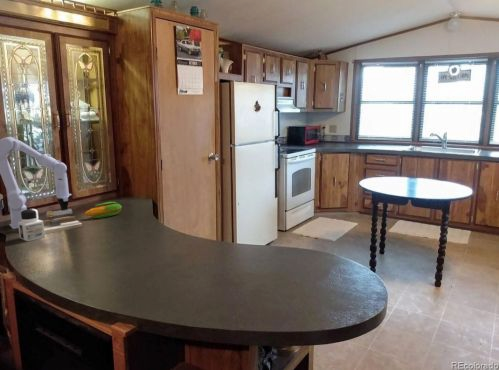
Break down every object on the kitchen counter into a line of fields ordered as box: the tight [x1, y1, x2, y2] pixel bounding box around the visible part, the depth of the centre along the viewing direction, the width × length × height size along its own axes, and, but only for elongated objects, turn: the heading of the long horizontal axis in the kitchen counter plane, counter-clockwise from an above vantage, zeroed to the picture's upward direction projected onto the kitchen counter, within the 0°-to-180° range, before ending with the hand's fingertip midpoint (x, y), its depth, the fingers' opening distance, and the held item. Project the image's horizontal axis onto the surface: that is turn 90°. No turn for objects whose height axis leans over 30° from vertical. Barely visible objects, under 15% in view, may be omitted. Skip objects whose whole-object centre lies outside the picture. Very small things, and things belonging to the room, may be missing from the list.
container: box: [18, 208, 46, 242], centre depth 173 cm, size 8×8×13 cm
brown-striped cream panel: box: [42, 215, 83, 235], centre depth 191 cm, size 19×17×4 cm
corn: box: [84, 201, 122, 219], centre depth 208 cm, size 7×8×20 cm
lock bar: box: [46, 208, 73, 218], centre depth 195 cm, size 12×3×2 cm, turn 130°
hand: (64, 212), depth 199 cm, fingers closed
